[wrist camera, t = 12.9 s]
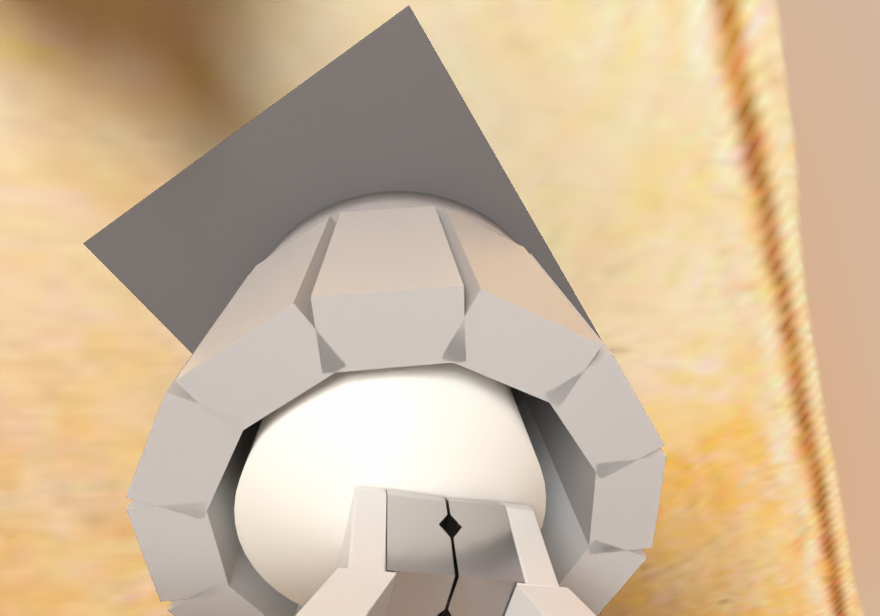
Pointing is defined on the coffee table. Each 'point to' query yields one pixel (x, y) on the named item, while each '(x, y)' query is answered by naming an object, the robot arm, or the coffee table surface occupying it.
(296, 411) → the white egg
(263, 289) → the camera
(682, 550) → the coffee table surface
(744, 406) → the coffee table surface
